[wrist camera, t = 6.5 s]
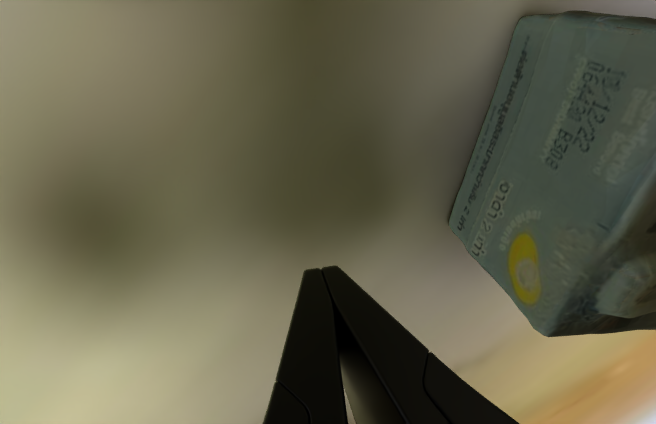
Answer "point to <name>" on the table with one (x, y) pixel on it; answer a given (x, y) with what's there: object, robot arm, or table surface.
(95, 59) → the table surface
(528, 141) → the printed cardboard box
